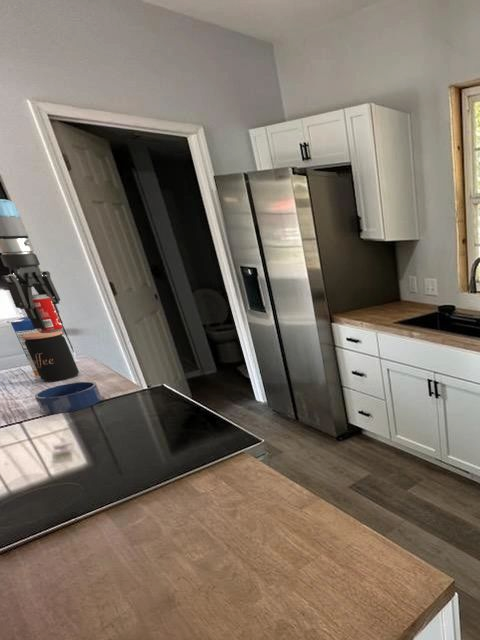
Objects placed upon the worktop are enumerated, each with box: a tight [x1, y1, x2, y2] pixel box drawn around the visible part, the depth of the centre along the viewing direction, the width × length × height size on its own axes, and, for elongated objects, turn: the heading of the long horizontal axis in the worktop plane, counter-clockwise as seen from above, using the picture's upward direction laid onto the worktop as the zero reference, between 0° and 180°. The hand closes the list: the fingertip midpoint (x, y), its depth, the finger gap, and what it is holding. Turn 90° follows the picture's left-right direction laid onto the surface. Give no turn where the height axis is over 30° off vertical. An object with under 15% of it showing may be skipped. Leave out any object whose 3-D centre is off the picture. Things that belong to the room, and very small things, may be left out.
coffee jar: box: [22, 330, 80, 383], centre depth 160 cm, size 11×11×18 cm
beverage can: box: [32, 293, 64, 333], centre depth 135 cm, size 6×6×12 cm
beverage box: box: [10, 316, 40, 377], centre depth 167 cm, size 7×11×22 cm, turn 32°
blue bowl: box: [34, 381, 103, 415], centre depth 137 cm, size 14×14×6 cm
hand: (49, 325), depth 137 cm, fingers closed on beverage can, 6 cm apart
